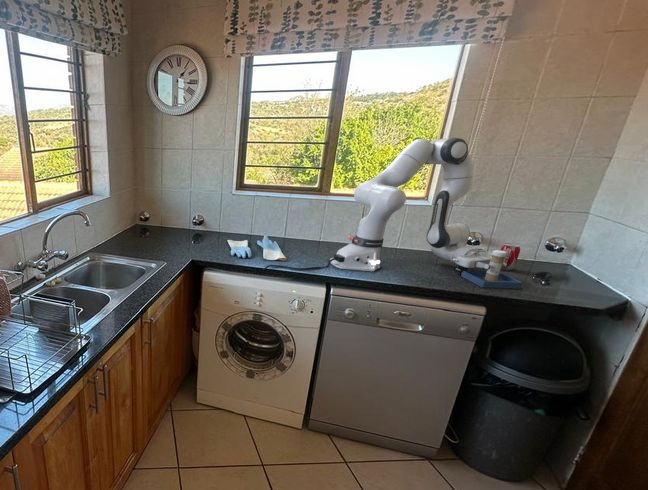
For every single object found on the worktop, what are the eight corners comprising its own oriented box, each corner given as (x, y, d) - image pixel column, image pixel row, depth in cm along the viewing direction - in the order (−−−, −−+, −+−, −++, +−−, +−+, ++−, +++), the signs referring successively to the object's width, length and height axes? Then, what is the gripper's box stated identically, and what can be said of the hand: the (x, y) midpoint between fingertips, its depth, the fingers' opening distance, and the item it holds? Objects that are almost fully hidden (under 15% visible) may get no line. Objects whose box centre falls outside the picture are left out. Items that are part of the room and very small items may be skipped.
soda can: (516, 272, 189) (524, 247, 185) (497, 270, 191) (506, 245, 187) (509, 267, 195) (517, 243, 191) (491, 265, 197) (499, 242, 193)
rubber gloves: (231, 258, 204) (232, 246, 201) (227, 241, 234) (228, 230, 232) (286, 261, 201) (288, 248, 198) (275, 243, 231) (276, 232, 229)
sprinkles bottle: (498, 281, 176) (508, 251, 171) (494, 283, 173) (504, 253, 168) (486, 277, 179) (495, 249, 174) (481, 279, 177) (491, 250, 172)
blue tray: (482, 287, 171) (484, 281, 170) (460, 276, 183) (462, 270, 182) (520, 288, 170) (522, 282, 169) (496, 277, 182) (498, 271, 181)
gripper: (450, 251, 182) (480, 261, 169) (486, 248, 186) (517, 258, 174) (446, 264, 184) (476, 275, 172) (481, 261, 189) (512, 271, 176)
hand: (497, 266), depth 173 cm, fingers open, 7 cm apart
